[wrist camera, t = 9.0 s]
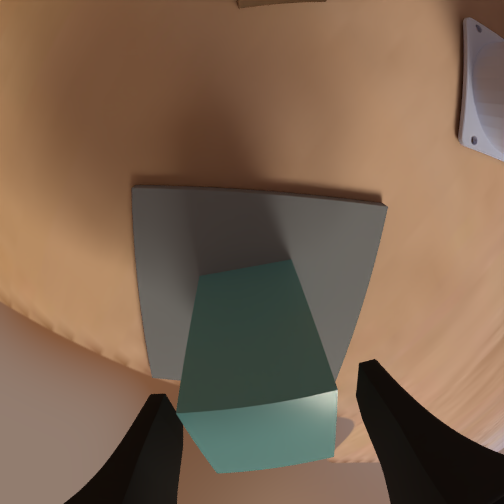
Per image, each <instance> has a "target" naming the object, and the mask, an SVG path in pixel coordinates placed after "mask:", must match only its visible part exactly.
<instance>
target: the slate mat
mask: <svg viewBox="0 0 504 504" xmlns="http://www.w3.org/2000/svg"><path fill="white" fill-rule="evenodd" d="M387 209H388V207H387V206H386V205H385V204H383V203H377V202H369V201H362V200H353V199H345V198H336V197H327V196H317V195H307V194H297V193H286V192H274V191H261V190H247V189H231V188H213V187H191V186H161V185H135V186H134V187H132V214H133V233H134V247H135V259H136V270H137V280H138V289H139V298H140V306H141V313H142V321H143V327H144V334H145V340H146V346H147V352H148V358H149V364H150V369H151V374H152V378H160V379H170V380H181V377H182V370H183V364H184V358H185V352H186V346H187V340H188V335H189V329H190V323H191V318H192V312H193V307H194V301H195V296H196V291H197V286H198V281H199V276H202V275H207V274H213V273H219V272H224V271H230V270H235V269H241V268H247V267H252V266H258V265H263V264H269V263H274V262H279V261H285V260H290V259H292V262H293V265H294V267H295V270H296V273H297V275H298V278H299V281H300V283H301V286H302V289H303V292H304V294H305V297H306V300H307V303H308V305H309V308H310V311H311V314H312V317H313V319H314V322H315V325H316V328H317V331H318V334H319V336H320V339H321V342H322V345H323V348H324V351H325V354H326V357H327V360H328V362H329V365H330V368H331V371H332V374H333V377H334V380H335V381H336V379H337V376H338V373H339V371H340V368H341V366H342V363H343V360H344V358H345V355H346V352H347V349H348V347H349V344H350V341H351V338H352V335H353V332H354V329H355V326H356V323H357V320H358V317H359V314H360V311H361V308H362V304H363V301H364V298H365V295H366V291H367V288H368V284H369V281H370V277H371V274H372V270H373V267H374V263H375V259H376V255H377V251H378V247H379V243H380V239H381V235H382V231H383V227H384V222H385V218H386V213H387Z"/></svg>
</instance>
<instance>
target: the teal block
mask: <svg viewBox="0 0 504 504" xmlns="http://www.w3.org/2000/svg"><path fill="white" fill-rule="evenodd" d="M337 398H338V389H337V386H336V383H335V380H334V377H333V374H332V371H331V368H330V365H329V362H328V360H327V357H326V354H325V351H324V348H323V345H322V342H321V339H320V336H319V334H318V331H317V328H316V325H315V322H314V319H313V317H312V314H311V311H310V308H309V305H308V303H307V300H306V297H305V294H304V292H303V289H302V286H301V283H300V281H299V278H298V275H297V273H296V270H295V267H294V265H293V262H292V259H290V260H285V261H279V262H274V263H269V264H263V265H258V266H252V267H247V268H241V269H235V270H230V271H224V272H219V273H213V274H207V275H202V276H199V281H198V286H197V291H196V296H195V301H194V307H193V312H192V318H191V323H190V329H189V335H188V340H187V346H186V352H185V358H184V364H183V370H182V377H181V383H180V390H179V396H178V403H177V410H176V414H177V416H178V417H179V419H180V420H181V422H182V424H183V425H184V426H185V428H186V430H187V431H188V433H189V434H190V435H191V437H192V439H193V440H194V442H195V443H196V445H197V446H198V447H199V449H200V450H201V452H202V453H203V455H204V456H205V457H206V459H207V460H208V462H209V463H210V464H211V466H212V467H213V468H214V470H215V471H216V472H217V473H231V472H243V471H253V470H262V469H269V468H277V467H284V466H290V465H296V464H300V463H307V462H311V461H316V460H321V459H326V458H330V457H334V449H335V436H336V419H337Z"/></svg>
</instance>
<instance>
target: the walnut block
mask: <svg viewBox="0 0 504 504" xmlns="http://www.w3.org/2000/svg"><path fill="white" fill-rule="evenodd" d="M297 2H326V0H237V3H238V8H239V9H240V8H246V7H254V6H262V5H271V4H282V3H297Z"/></svg>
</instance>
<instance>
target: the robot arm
mask: <svg viewBox="0 0 504 504" xmlns="http://www.w3.org/2000/svg"><path fill="white" fill-rule="evenodd" d="M476 28H477V29H476ZM477 30H478V31H477ZM463 31H464V75H463V94H462V107H461V117H460V126H459V134H458V139H459V142H460V144H461V145H463V146H465V147H468V148H470V149H473V150H476V151H478V152H481V153H484V154H486V155H489V156H491V157H494V158H496V159H498V160H501V161H503V162H504V39H503V38H502V37H500V36H499V35H497V34H496V33H494V32H493V31H491V30H490V29H488V28H487V27H485V26H484V25H482V24H481V23H479V22H478V21H476V20H474V19H473V18H470V17H468V18H464V20H463ZM471 138H473V142H471ZM356 398H357V402H358V405H359V409H360V412H361V416H362V419H363V422H364V424H365V427H366V429H367V432H368V434H369V437H370V439H371V441H372V444H373V446H374V449H375V451H376V454H377V456H378V459H379V461H380V464H381V467H382V470H383V473H384V477H385V480H386V485H387V489H388V493H389V498H390V502H391V504H504V455H503V454H500V453H498V452H495V451H493V450H491V449H488V448H486V447H484V446H482V445H480V444H478V443H476V442H474V441H472V440H470V439H468V438H467V437H465V436H463V435H461V434H460V433H458V432H456V431H455V430H453V429H452V428H450V427H449V426H447V425H446V424H444V423H443V422H442V421H440V420H439V419H438V418H436V417H435V416H434V415H432V414H431V413H430V412H429V411H428V410H426V409H425V408H424V407H423V406H422V405H420V404H419V403H418V402H417V401H416V400H415V399H414V398H413V397H412V396H411V395H410V394H408V393H407V392H406V391H405V390H404V389H403V388H402V387H401V386H400V385H399V384H398V383H397V382H396V381H395V380H394V379H393V378H392V377H391V376H390V374H389V373H388V372H387V371H386V370H385V369H384V368H383V367H382V366H381V365H380V363H379V362H378V361H377V360H375V359H373V360H369V361H366V362H362V363H359V370H358V381H357V391H356ZM182 450H183V424H182V422H181V420H180V419H179V417H178V416H177V414H176V411H175V409H174V408H173V406H172V404H171V402H170V401H169V399H168V397H167V396H166V394H151V395H150V396H149V397H148V399H147V401H146V403H145V404H144V406H143V407H142V409H141V411H140V413H139V414H138V416H137V417H136V419H135V421H134V422H133V424H132V426H131V427H130V429H129V430H128V432H127V434H126V435H125V437H124V438H123V440H122V441H121V443H120V444H119V445H118V447H117V448H116V450H115V451H114V453H113V454H112V455H111V457H110V458H109V459H108V460H107V462H106V463H105V464H104V466H103V467H102V468H101V469H100V470H99V471H98V473H97V474H96V475H95V476H94V477H93V478H92V479H91V480H90V481H89V482H88V483H87V484H86V485H85V486H84V487H83V488H82V489H81V490H80V491H79V492H77V493H76V494H75V495H74V496H73V497H71V498H70V499H69V500H68V501H67V502H65V503H64V504H177V491H178V482H179V474H180V465H181V458H182Z"/></svg>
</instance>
